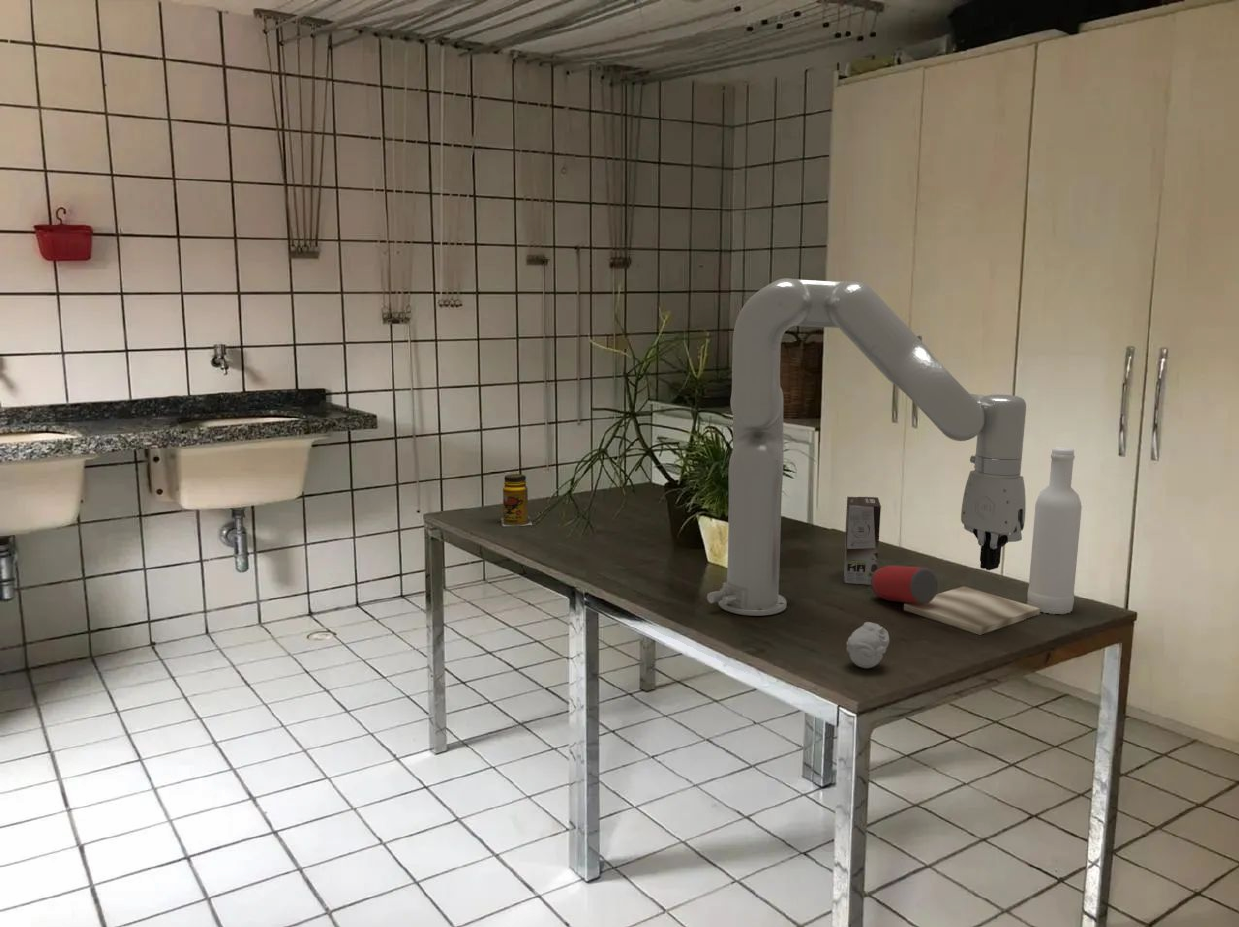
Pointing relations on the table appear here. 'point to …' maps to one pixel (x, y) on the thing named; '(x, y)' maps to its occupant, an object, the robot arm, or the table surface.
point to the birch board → (973, 610)
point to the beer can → (905, 584)
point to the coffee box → (861, 539)
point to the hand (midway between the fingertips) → (989, 567)
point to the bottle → (1055, 539)
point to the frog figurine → (868, 645)
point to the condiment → (515, 501)
